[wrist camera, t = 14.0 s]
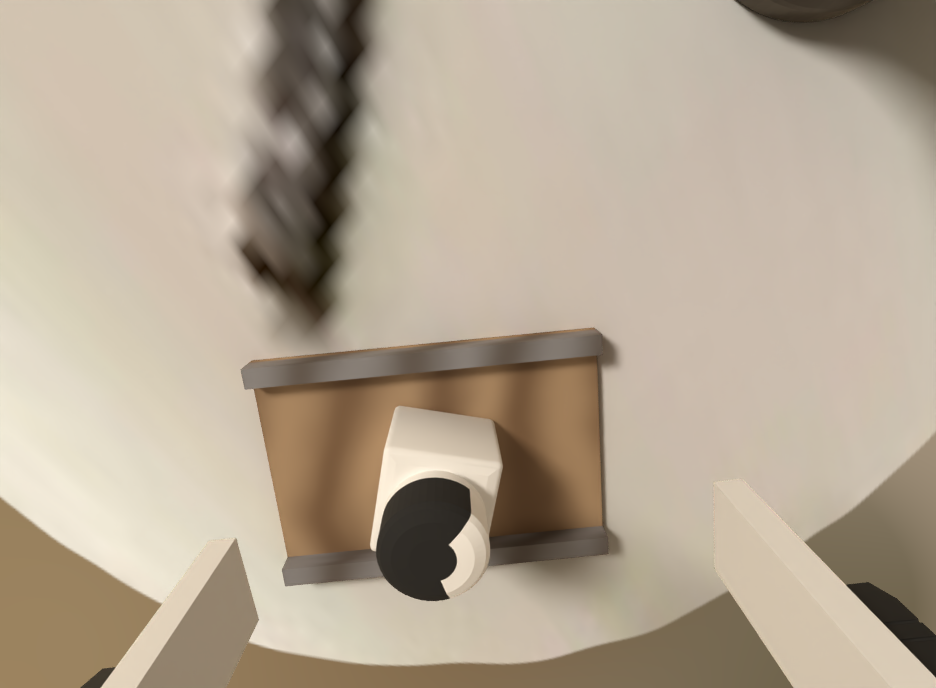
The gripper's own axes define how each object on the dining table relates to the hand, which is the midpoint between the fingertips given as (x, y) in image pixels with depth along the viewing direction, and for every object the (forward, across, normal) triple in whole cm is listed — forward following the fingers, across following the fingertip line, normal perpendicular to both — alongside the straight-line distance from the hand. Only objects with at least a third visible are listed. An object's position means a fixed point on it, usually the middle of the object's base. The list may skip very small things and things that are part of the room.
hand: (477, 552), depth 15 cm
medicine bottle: (+23, -3, -9) cm, 25 cm away
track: (+24, -4, -9) cm, 26 cm away
